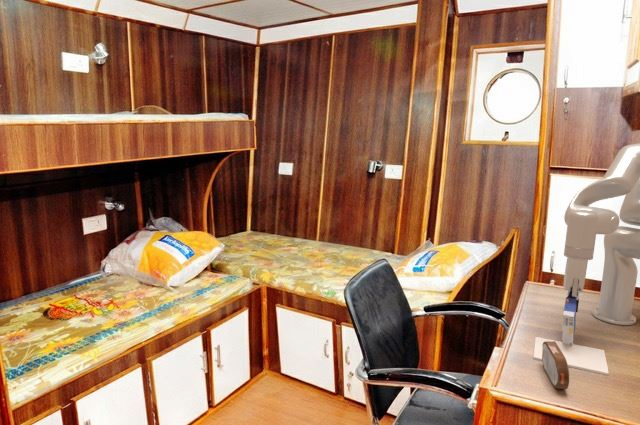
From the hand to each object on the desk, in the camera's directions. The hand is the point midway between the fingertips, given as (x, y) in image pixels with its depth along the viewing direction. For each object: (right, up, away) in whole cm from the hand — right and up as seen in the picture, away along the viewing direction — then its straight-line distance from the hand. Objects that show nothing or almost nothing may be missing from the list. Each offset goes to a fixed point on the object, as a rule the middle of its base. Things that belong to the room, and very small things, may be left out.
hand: (571, 310), depth 138 cm
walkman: (-1, -8, 0) cm, 8 cm away
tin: (-16, -14, -20) cm, 28 cm away
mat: (-5, -11, -8) cm, 14 cm away
